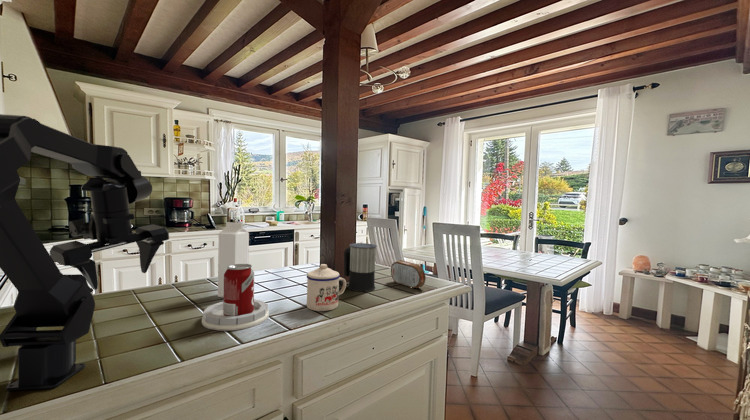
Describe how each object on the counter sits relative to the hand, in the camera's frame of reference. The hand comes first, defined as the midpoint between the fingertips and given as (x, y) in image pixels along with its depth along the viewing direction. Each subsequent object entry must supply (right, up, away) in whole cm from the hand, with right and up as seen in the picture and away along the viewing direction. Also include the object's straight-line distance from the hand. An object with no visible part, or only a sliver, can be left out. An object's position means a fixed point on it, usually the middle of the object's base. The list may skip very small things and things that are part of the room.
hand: (121, 280), depth 67 cm
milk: (+12, -11, +28) cm, 32 cm away
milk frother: (+46, -12, +38) cm, 61 cm away
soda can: (+21, -11, +9) cm, 26 cm away
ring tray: (+21, -11, +10) cm, 25 cm away
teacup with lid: (+41, -12, +21) cm, 48 cm away
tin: (+66, -12, +44) cm, 80 cm away
